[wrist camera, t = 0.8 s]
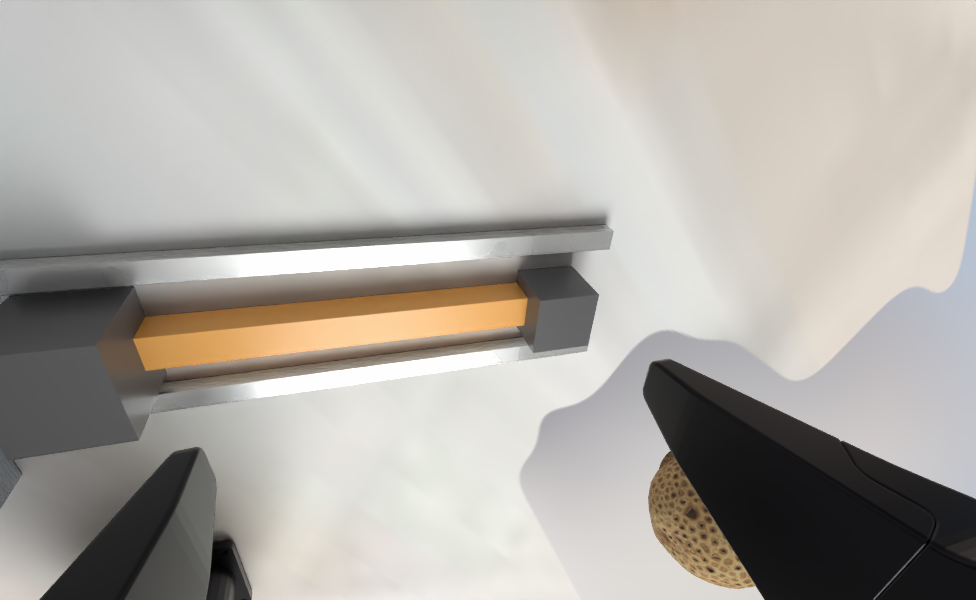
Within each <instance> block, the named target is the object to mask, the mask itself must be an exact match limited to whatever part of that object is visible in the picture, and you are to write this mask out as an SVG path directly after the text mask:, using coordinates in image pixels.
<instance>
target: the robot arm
mask: <svg viewBox="0 0 976 600" xmlns="http://www.w3.org/2000/svg"><path fill="white" fill-rule="evenodd" d="M643 395H644V398H645V401H646V402H647V405H648V407H649V409H650V411H651V413H652V415H653V417H654V419H655V420H656V422H657V425H658V427H659V429H660V431H661V432H662V435H663V436H664V439H665V441H666V443H667V444H668V446H669V448H670V450H671V452H672V454H673V456H674V458H675V459H676V461H677V463H678V464H679V466H680V468H681V469H682V471H683V472H684V474H685V476H686V477H687V479H688V480H689V482H690V483H691V485H692V487H693V488H694V490H695V491H696V493H697V494H698V496H699V498H700V499H701V501H702V502H703V504H704V505H705V507H706V509H707V510H708V512H709V513H710V515H711V516H712V518H713V520H714V521H715V523H716V524H717V526H718V527H719V529H720V530H721V532H722V534H723V535H724V537H725V538H726V540H727V541H728V543H729V545H730V546H731V548H732V549H733V551H734V552H735V554H736V556H737V557H738V559H739V560H740V562H741V563H742V565H743V567H744V568H745V570H746V571H747V573H748V574H749V576H750V578H751V579H752V581H753V582H754V584H755V585H756V587H757V589H758V590H759V592H760V593H761V595H762V596H763V598H764V600H976V499H975V498H972V497H970V496H968V495H965V494H963V493H960V492H958V491H956V490H953V489H951V488H948V487H946V486H943V485H941V484H938V483H936V482H934V481H931V480H929V479H927V478H924V477H922V476H919V475H917V474H915V473H912V472H910V471H908V470H905V469H903V468H900V467H898V466H896V465H893V464H891V463H889V462H887V461H885V460H883V459H881V458H878V457H876V456H874V455H872V454H870V453H868V452H865V451H863V450H861V449H859V448H857V447H855V446H853V445H851V444H849V443H846V442H844V441H841V442H840V440H839V439H838V438H836V437H834V436H831V435H829V434H827V433H825V432H823V431H821V430H818V429H817V428H815V427H812V426H810V425H808V424H806V423H804V422H802V421H800V420H798V419H796V418H793V417H791V416H789V415H787V414H785V413H783V412H781V411H779V410H777V409H774V408H772V407H770V406H768V405H766V404H764V403H762V402H760V401H757V400H755V399H753V398H751V397H749V396H747V395H745V394H743V393H741V392H738V391H736V390H734V389H732V388H730V387H728V386H726V385H724V384H722V383H720V382H717V381H715V380H713V379H711V378H709V377H707V376H705V375H703V374H701V373H698V372H696V371H694V370H692V369H690V368H688V367H686V366H684V365H682V364H680V363H677V362H675V361H673V360H671V359H664V360H658V361H654V362H652V363H651V364H650V366H649V369H648V372H647V376H646V380H645V383H644V387H643ZM215 502H216V479H215V476H214V473H213V471H212V469H211V466H210V464H209V462H208V459H207V457H206V455H205V453H204V451H203V450H202V449H201V448H199V447H195V448H190V449H184V450H179V451H176V452H174V453H172V454H171V455H170V456H169V457H168V458H167V459H166V460H165V461H164V462H163V464H162V465H161V466H160V467H159V468H158V469H157V470H156V471H155V472H154V474H153V475H152V476H151V477H150V478H149V479H148V480H147V481H146V482H145V483H144V485H143V486H142V487H141V488H140V489H139V490H138V491H137V492H136V493H135V495H134V496H133V497H132V498H131V499H130V500H129V501H128V502H127V503H126V504H125V506H124V507H123V508H122V509H121V510H120V511H119V512H118V513H117V514H116V516H115V517H114V518H113V519H112V520H111V521H110V522H109V523H108V524H107V526H106V527H105V528H104V529H103V530H102V531H101V532H100V533H99V534H98V535H97V537H96V538H95V539H94V540H93V541H92V542H91V543H90V544H89V545H88V547H87V548H86V549H85V550H84V551H83V552H82V553H81V554H80V555H79V556H78V558H77V559H76V560H75V561H74V562H73V563H72V564H71V565H70V566H69V568H68V569H67V570H66V571H65V572H64V573H63V574H62V575H61V576H60V578H59V579H58V580H57V581H56V582H55V583H54V584H53V585H52V586H51V587H50V589H49V590H48V591H47V592H46V593H45V594H44V595H43V596H42V597H41V599H40V600H251V599H252V591H251V589H250V586H249V583H248V580H247V578H246V575H245V572H244V570H243V567H242V564H241V562H240V559H239V556H238V554H237V551H236V548H235V545H234V543H233V542H231V541H221V542H216V543H213V530H214V516H215Z"/></svg>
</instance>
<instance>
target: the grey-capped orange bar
mask: <svg viewBox="0 0 976 600" xmlns="http://www.w3.org/2000/svg"><path fill="white" fill-rule="evenodd" d="M598 297H599V294H598V293H597V292H596V291H595V290H594V289H593V288H592V287H591V286H590V285H589V284H588V283H587V282H586V281H585V280H584V279H583V277H582V276H581V275H580V274H579V273H578V272H577V271H576V270H575V269H574V268H573V267H572V266H565V267H553V268H541V269H529V270H518V275H517V282H516V283H505V284H495V285H484V286H473V287H462V288H451V289H440V290H429V291H419V292H408V293H397V294H386V295H375V296H364V297H354V298H343V299H332V300H321V301H310V302H299V303H288V304H278V305H267V306H256V307H245V308H234V309H223V310H212V311H202V312H191V313H180V314H169V315H158V316H147V317H145V315H144V312H143V309H142V307H141V304H140V301H139V299H138V296H137V293H136V291H135V288H134V287H121V288H108V289H95V290H82V291H69V292H55V293H42V294H29V295H16V296H10V297H8V298H7V299H6V300H5V301H4V302H3V303H2V304H1V305H0V449H1V450H2V451H3V453H4V454H5V456H6V457H7V459H8V460H15V459H21V458H28V457H34V456H41V455H47V454H53V453H60V452H66V451H73V450H79V449H86V448H92V447H99V446H105V445H111V444H118V443H124V442H131V441H137V440H139V439H140V436H141V434H142V431H143V429H144V426H145V424H146V422H147V419H148V417H149V414H150V412H151V409H152V407H153V405H154V402H155V400H156V397H157V395H158V392H159V390H160V388H161V385H162V383H163V380H164V378H165V375H166V371H165V368H174V367H182V366H190V365H199V364H207V363H215V362H224V361H232V360H240V359H249V358H257V357H265V356H274V355H282V354H290V353H298V352H307V351H315V350H323V349H332V348H340V347H348V346H357V345H365V344H373V343H382V342H390V341H398V340H407V339H415V338H423V337H432V336H440V335H448V334H457V333H465V332H473V331H482V330H490V329H498V328H507V327H515V326H517V328H518V329H519V331H520V333H521V334H522V336H523V338H524V339H525V341H526V343H527V344H528V346H529V348H530V349H531V351H532V353H538V352H545V351H552V350H559V349H566V348H574V347H581V346H588V342H589V338H590V333H591V329H592V324H593V320H594V315H595V310H596V306H597V301H598Z"/></svg>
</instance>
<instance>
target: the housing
mask: <svg viewBox="0 0 976 600" xmlns="http://www.w3.org/2000/svg"><path fill="white" fill-rule="evenodd" d="M612 236H613V230H612V229H610V228H609V227H608V226H607V225H592V226H575V227H558V228H541V229H524V230H507V231H490V232H473V233H456V234H439V235H422V236H405V237H388V238H370V239H353V240H336V241H319V242H302V243H285V244H268V245H251V246H234V247H217V248H200V249H183V250H166V251H149V252H132V253H115V254H98V255H81V256H64V257H47V258H30V259H13V260H0V295H11V294H24V293H37V292H50V291H64V290H77V289H90V288H103V287H117V286H130V285H143V284H156V283H170V282H183V281H196V280H209V279H223V278H236V277H249V276H262V275H275V274H289V273H302V272H315V271H328V270H342V269H355V268H368V267H381V266H395V265H408V264H421V263H434V262H448V261H461V260H474V259H487V258H501V257H514V256H527V255H540V254H554V253H567V252H580V251H593V250H607V249H610V245H611V240H612ZM589 339H590V338H589ZM588 344H589V342H588ZM587 348H588V346H581V347H574V348H566V349H559V350H552V351H545V352H538V353H532V351H531V349H530V348H529V346H528V344H527V343H526V341H525V339H524V338H523V337H519V338H511V339H503V340H496V341H488V342H480V343H472V344H464V345H456V346H448V347H441V348H433V349H425V350H417V351H409V352H401V353H393V354H386V355H378V356H370V357H362V358H354V359H346V360H339V361H331V362H323V363H315V364H307V365H299V366H291V367H284V368H276V369H268V370H260V371H252V372H244V373H236V374H229V375H221V376H213V377H205V378H197V379H189V380H182V381H174V382H166V383H162V385H161V388H160V390H159V392H158V395H157V397H156V400H155V402H154V405H153V407H152V409H151V412H150V413H157V412H164V411H171V410H178V409H185V408H192V407H199V406H206V405H213V404H220V403H227V402H234V401H241V400H248V399H255V398H262V397H269V396H276V395H283V394H290V393H297V392H304V391H311V390H318V389H325V388H332V387H339V386H346V385H353V384H360V383H368V382H375V381H382V380H389V379H396V378H403V377H410V376H417V375H424V374H431V373H438V372H445V371H452V370H459V369H466V368H473V367H480V366H487V365H494V364H501V363H508V362H515V361H522V360H529V359H536V358H543V357H550V356H557V355H564V354H571V353H578V352H585V351H587ZM21 475H22V474H21V472H20V471H19V469H18V468H17V466H16V465H15V463H14V462H13V461H12V460H8V459H7V457H6V456H5V454H4V453H3V451H2V450H1V449H0V508H1V507H2V505H3V504H4V502H5V501H6V499H7V497H8V496H9V494H10V493H11V491H12V489H13V488H14V486H15V485H16V483H17V481H18V480H19V478H20V477H21Z"/></svg>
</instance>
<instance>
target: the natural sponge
mask: <svg viewBox="0 0 976 600" xmlns="http://www.w3.org/2000/svg"><path fill="white" fill-rule="evenodd" d="M648 498H649V511H650V517H651V523H652V527H653V530H654V533H655V535H656V537H657V538H658V540H659V542H660V543H661V544H662V545H663V546H664V548H665V549H666V550H667V551H668V552H669V553H670V554H671V555H672V556H673V557H674V558H675V560H676V561H678V563H679V564H680V565H681V566H682V567H684V568H685V569H686V570H687V571H689V572H690V573H691V574H693V575H695V576H696V577H698V578H700V579H702V580H705V581H707V582H709V583H712V584H716V585H719V586H723V587H727V588H735V589H741V588H746V587H753V586H756V585H755V584H754V582H753V581H752V579H751V578H750V576H749V574H748V573H747V571H746V570H745V568H744V567H743V565H742V563H741V562H740V560H739V559H738V557H737V556H736V554H735V552H734V551H733V549H732V548H731V546H730V545H729V543H728V541H727V540H726V538H725V537H724V535H723V534H722V532H721V530H720V529H719V527H718V526H717V524H716V523H715V521H714V520H713V518H712V516H711V515H710V513H709V512H708V510H707V509H706V507H705V505H704V504H703V502H702V501H701V499H700V498H699V496H698V494H697V493H696V491H695V490H694V488H693V487H692V485H691V483H690V482H689V480H688V479H687V477H686V476H685V474H684V472H683V471H682V469H681V468H680V466H679V464H678V463H677V461H676V459H675V458H674V456H673V454H672V452H671V451H670V452H669V453H668V454H667V455H666V456H665V458H664V459H663V460H662V462H661V465H660V468H659V471H658V472H657V473H656V475H655V477H654V478H653V480H652V482H651V486H650V490H649V497H648Z"/></svg>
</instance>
